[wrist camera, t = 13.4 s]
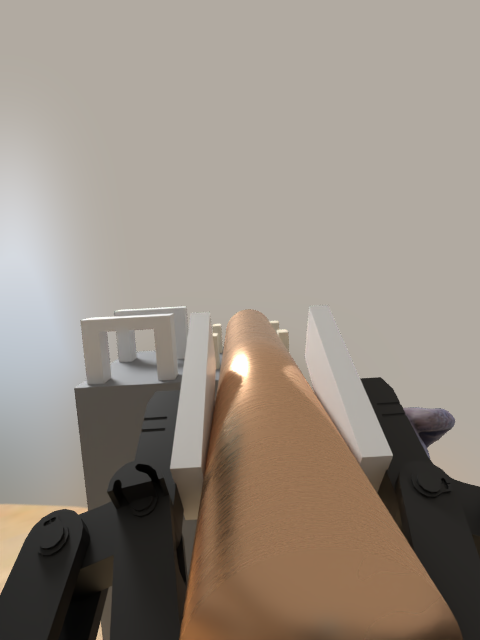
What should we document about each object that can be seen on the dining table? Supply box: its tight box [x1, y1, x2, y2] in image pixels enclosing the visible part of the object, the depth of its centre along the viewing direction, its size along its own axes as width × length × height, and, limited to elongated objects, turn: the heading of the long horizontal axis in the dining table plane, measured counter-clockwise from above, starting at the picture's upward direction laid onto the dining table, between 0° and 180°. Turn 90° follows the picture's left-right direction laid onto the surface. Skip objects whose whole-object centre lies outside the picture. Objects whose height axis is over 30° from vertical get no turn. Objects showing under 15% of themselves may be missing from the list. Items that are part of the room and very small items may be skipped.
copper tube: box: [179, 309, 463, 640], centre depth 18 cm, size 26×4×4 cm, turn 1°
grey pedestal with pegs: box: [74, 306, 289, 640], centre depth 42 cm, size 21×16×34 cm
